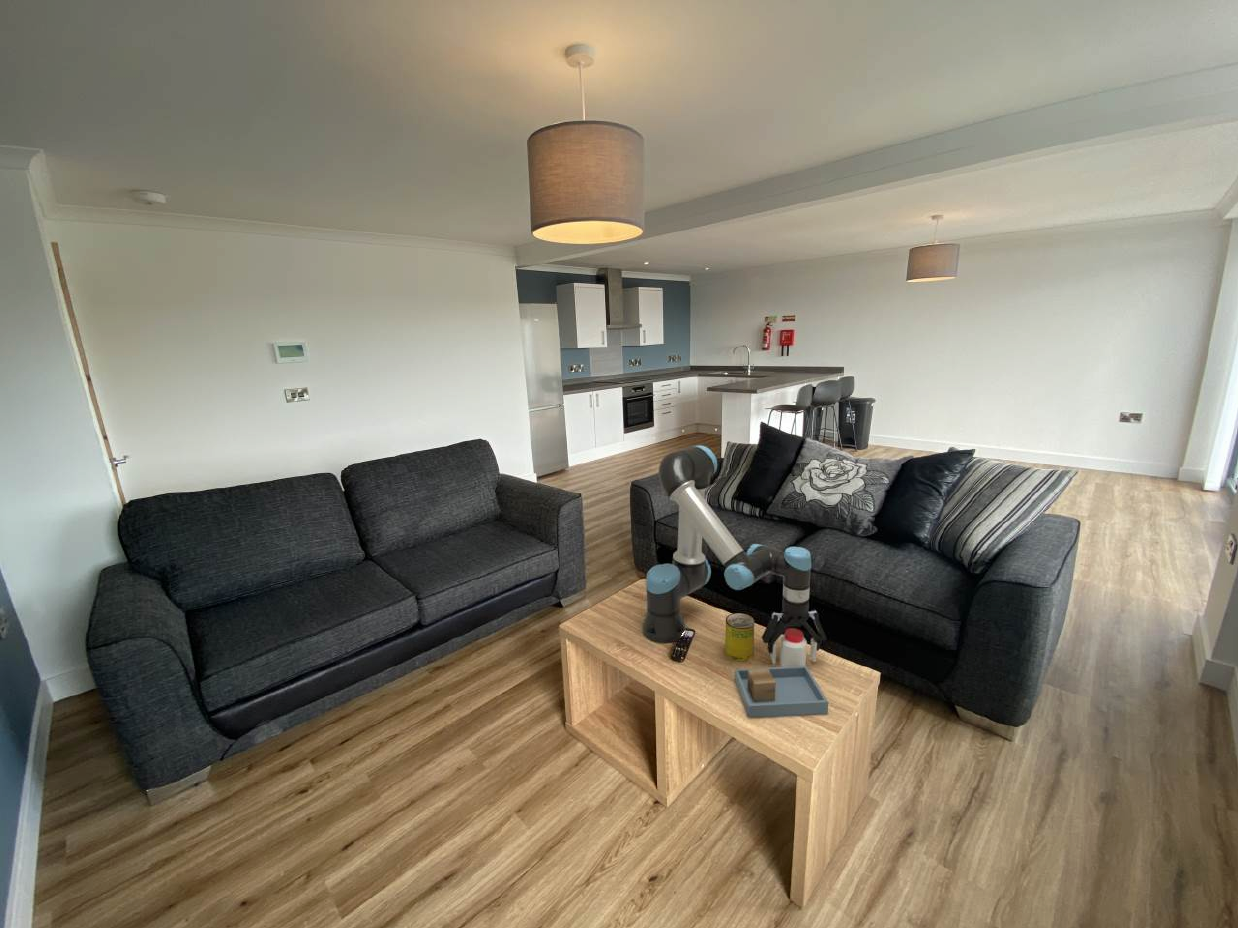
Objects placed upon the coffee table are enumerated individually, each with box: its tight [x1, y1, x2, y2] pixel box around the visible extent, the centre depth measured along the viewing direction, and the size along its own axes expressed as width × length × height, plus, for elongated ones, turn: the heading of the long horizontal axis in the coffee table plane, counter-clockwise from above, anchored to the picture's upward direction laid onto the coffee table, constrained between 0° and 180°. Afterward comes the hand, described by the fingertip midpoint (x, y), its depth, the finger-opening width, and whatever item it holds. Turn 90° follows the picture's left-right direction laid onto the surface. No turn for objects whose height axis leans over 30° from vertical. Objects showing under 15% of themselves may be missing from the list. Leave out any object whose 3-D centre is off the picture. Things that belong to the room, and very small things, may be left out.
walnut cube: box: [748, 669, 776, 702], centre depth 145 cm, size 6×6×6 cm
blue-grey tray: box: [734, 665, 829, 719], centre depth 146 cm, size 16×22×4 cm
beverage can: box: [724, 612, 755, 663], centre depth 165 cm, size 9×9×12 cm
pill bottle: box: [779, 627, 808, 667], centre depth 158 cm, size 8×8×11 cm
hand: (792, 660), depth 159 cm, fingers open, 12 cm apart
